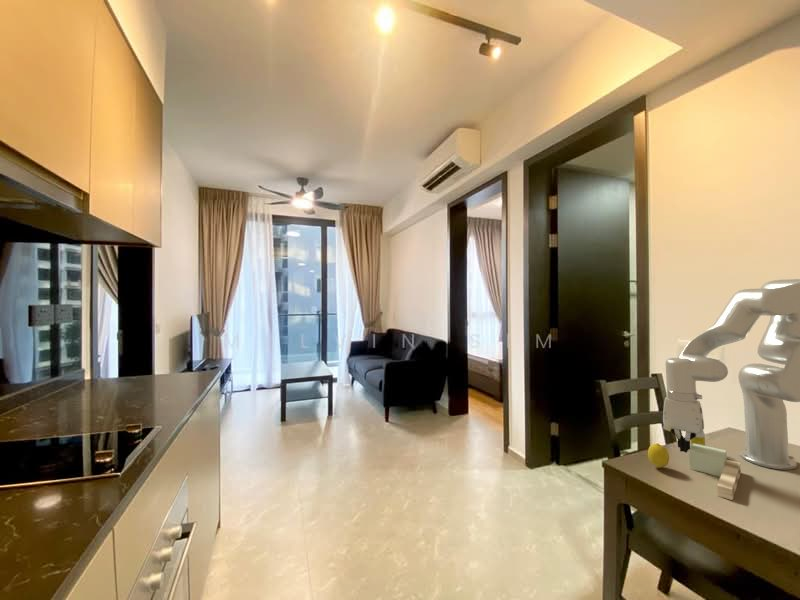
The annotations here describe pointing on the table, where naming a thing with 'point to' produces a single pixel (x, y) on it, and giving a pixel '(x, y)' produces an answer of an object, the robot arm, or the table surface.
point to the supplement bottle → (697, 441)
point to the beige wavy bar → (729, 480)
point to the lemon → (658, 455)
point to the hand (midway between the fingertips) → (684, 450)
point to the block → (707, 459)
